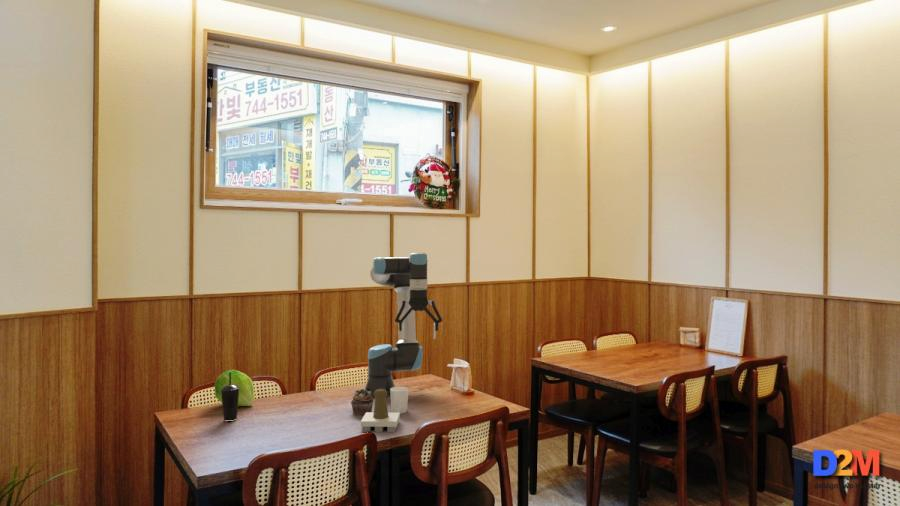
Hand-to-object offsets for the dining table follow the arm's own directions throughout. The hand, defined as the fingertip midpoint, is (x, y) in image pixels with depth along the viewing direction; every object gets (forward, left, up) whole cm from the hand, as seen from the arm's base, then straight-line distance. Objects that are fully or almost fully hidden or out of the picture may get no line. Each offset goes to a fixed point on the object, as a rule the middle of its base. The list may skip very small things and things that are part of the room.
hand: (418, 338), depth 246 cm
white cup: (-4, -9, -33) cm, 34 cm away
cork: (+17, -14, -29) cm, 36 cm away
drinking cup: (+10, -78, -33) cm, 85 cm away
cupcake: (-2, -25, -33) cm, 41 cm away
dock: (+17, -14, -33) cm, 39 cm away
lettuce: (-12, -85, -33) cm, 92 cm away
